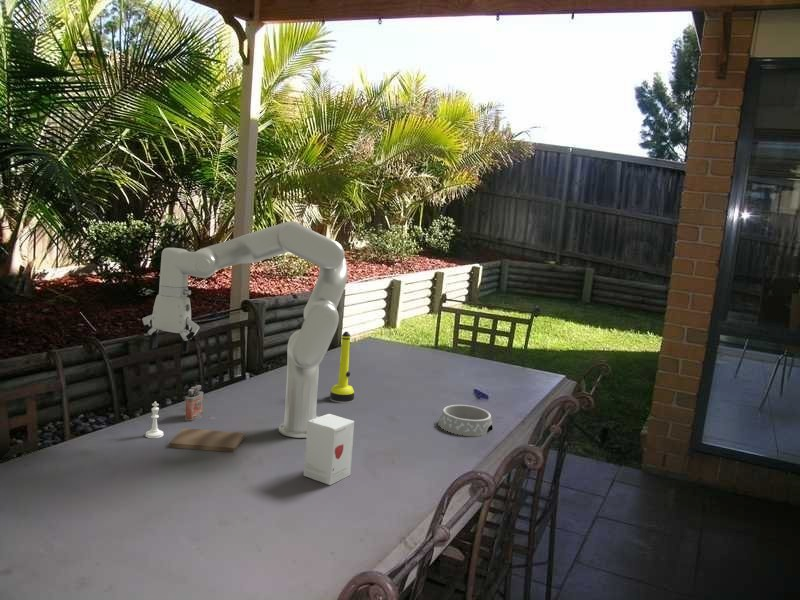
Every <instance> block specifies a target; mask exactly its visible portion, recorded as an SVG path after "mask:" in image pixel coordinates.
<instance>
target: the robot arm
mask: <svg viewBox="0 0 800 600" xmlns="http://www.w3.org/2000/svg"><path fill="white" fill-rule="evenodd" d="M286 253H290V254H292V255H294V256H297V257H299V258H300V259H302V260H305V261H307V262H308V263H309V262H310V263H312V264H314V265H316V266H318V269H319V270H318V271H319V272H318V277H317V280H316V283H315V286H314V288H313V290H312V292H311V295H310V296H309V298H308V301H307V303H306V305H305V307H304V309H303V319H304V321H303V323H302V325H301V329H297V330H296V331H294V332H293V333H292V334H291V335H290V336H289V339H288V342H287V347H286V348H287V350H286V351H287V353H286V354H287V355H286V356H287V357H286V358H287V362H286V365H287V366H286V367H287V368H286V385H285V399H284V400H285V401H284V402H285V403H284V420H283V421H284V422H282V423H281V424H280V425H279V426H278V432H279V433H280V434H281V435H283V436H285V437H290V438H295V439H296V438H297V439H300V438H301V439H305V438H306V437H307V422H308V421H309V420H312V419H315V418H317V417H319V416H318V414H317V404H318V403H317V402H318V388H319V387H318V386H319V376H320V375H319V372H320V371H319V369H320V364H321V363H322V361H323V359H324V358H325V356H326V354H327V352H328V350H329V347H330V345H331V343H332V340H333V338H334V336H335V334H336V332H337V329H338V326H339V322H340V321H339V320H340V315H339V314H340V313H339V312H338V310H337V308H338V306H339V303H340V300H341V298H342V295H343V293H344V291H345V289H346V285H347V282H348V275H349V274H348V272H349V271H348V264H347V260H346V256H345V250H344V247H343V246H342V244H341V243H340V242H338V241H336V240H334V239H333V238H330V237H327V236H326V235H323V234H320V233H319V232H316V231H314V230H312V229H311V228H308V227H307V226H304V225H303V224H300V223H299V222H296V221H294V220H291V221H290V220H289V221H285V222H281V223H278V224H275V225H272V226H269V227H266V228H263V229H259V230H256V231H252V232H249V233H245V234H244V235H243V234H242V235H240V236H237V237H235V238H232V239H229V240H225V241H222V242H219V243H215V244H213V245H208V246H205V247H202V248H200V249H198V250H196V251H189V250H187V249H185V248H179V247H178V248H177V247H165V248H164V249H163V250H162V251H161V257H160V258H161V259H160V272H159V273H160V274H159V275H160V276H159V285H158V286H159V289H158V294H157V295H156V297H155V300H154V304H153V310H152V314H150V315H147V316H145V317H143V318H142V319H141V320H142V324H143V325H144V329H145V330H146V332H147V335H149V340H148V345H149V346H148V347H149V349H150V350H153V349H157V348H158V347H159V333H158V332H159V331H163V332H167V333H175V334H179V335H180V336H181V338H182V340H181V341H180V355H185V354H188V353H189V351H190V344H191V340H192V339H193V338H194V337H195V336H196V335H197V333H198V332H199V330H200V328H201V326H200V325H198V323H197V322H194V321H193V320H192V307H191V299H190V297H188V296H190V295H191V294H192V290H191V289H190V290H189V287H188V285H189V276H192V277H196V278H200V279H201V278H202V279H204V278H205V279H206V278H210V277H211V276H213V275H214V273H216V271H218V270H219V271H220V270H222V269H225V268H228V267H232V266H236V265H241V264H254V263H259V262H262V261H265V260H268V259H270V258H274V257H276V256H280V255H283V254H286ZM190 330H191V331H190Z"/></svg>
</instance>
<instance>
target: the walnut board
mask: <svg viewBox="0 0 800 600" xmlns="http://www.w3.org/2000/svg"><path fill="white" fill-rule="evenodd" d="M245 434H246V432H240V431H239V432H238V431H237V432H236V431H224V430H213V429H211V430H210V429H199V428H188V427H187V428H185V427H184V428H182V429H181V430H180V431H179V433H177V434H176V435H175V436H174V438H172V440H170V442H169V444H168V447H169V448H175V449H189V450H201V451H202V450H203V451H204V450H205V451H214V450H215V451H216V452H227V451H232V452H231V453H235V452H236V450H237V449H238V447H239V446H240V444H241V443H242V441H243V440H244V438H245V437H246V435H245ZM244 436H245V437H244ZM242 439H243V440H242ZM240 442H241V443H240ZM238 445H239V446H238ZM236 448H237V449H236ZM234 451H235V452H234Z"/></svg>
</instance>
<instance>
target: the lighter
mask: <svg viewBox="0 0 800 600" xmlns="http://www.w3.org/2000/svg"><path fill="white" fill-rule="evenodd" d="M200 390H201V391H200ZM203 396H204V391H202V385H200V384H198V385H194V386H191V388H190V389H188V395H186V396H185V397H184V398H185V399H184V400H185V416H184V422H186V421H188V423H191V421H192V422H195V421H197V420H198V418H199V417H200V418H202V417H203V414H204V412H203ZM200 418H199V419H200ZM196 419H197V420H196ZM194 420H195V421H194Z"/></svg>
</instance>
